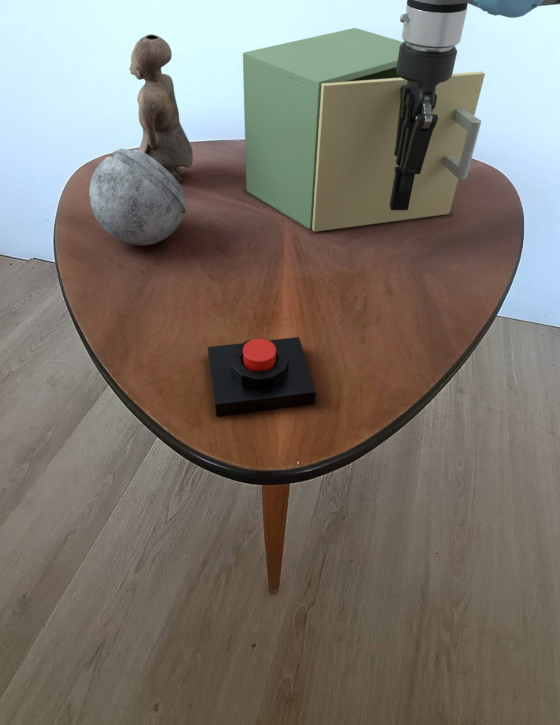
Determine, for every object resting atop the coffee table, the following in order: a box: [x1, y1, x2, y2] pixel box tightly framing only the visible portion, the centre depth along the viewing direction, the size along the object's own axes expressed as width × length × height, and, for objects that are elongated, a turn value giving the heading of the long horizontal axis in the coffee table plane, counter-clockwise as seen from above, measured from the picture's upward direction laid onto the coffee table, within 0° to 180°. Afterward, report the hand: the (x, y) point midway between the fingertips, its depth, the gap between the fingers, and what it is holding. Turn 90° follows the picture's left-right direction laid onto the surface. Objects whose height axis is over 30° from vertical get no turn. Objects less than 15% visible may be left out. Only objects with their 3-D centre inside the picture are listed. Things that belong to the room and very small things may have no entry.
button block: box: [207, 336, 317, 417], centre depth 68 cm, size 12×10×4 cm
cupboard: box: [242, 27, 404, 230], centre depth 99 cm, size 18×26×24 cm
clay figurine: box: [128, 34, 194, 182], centre depth 101 cm, size 13×10×25 cm
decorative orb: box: [88, 148, 188, 246], centre depth 88 cm, size 15×14×15 cm
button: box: [243, 338, 276, 372], centre depth 67 cm, size 4×4×2 cm
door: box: [311, 71, 486, 233], centre depth 88 cm, size 7×26×24 cm, turn 105°
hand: (398, 207), depth 89 cm, fingers closed
